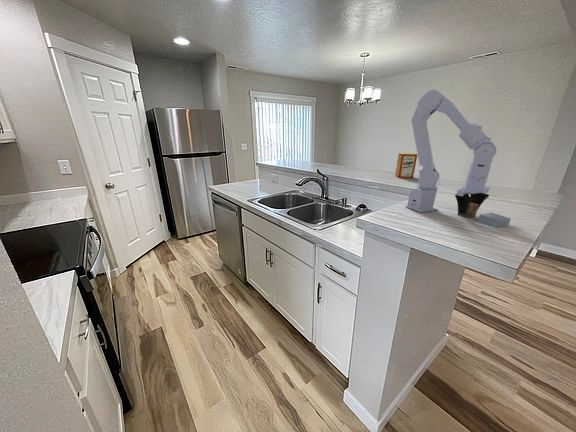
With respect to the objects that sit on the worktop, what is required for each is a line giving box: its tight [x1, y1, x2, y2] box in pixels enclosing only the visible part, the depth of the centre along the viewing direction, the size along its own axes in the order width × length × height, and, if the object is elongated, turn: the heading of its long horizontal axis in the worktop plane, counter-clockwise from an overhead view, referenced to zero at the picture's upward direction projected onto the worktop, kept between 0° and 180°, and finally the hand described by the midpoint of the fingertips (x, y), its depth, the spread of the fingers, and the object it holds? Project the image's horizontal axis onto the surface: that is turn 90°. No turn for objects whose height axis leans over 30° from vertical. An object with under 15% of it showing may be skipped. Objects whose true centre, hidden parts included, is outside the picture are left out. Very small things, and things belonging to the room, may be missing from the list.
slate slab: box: [477, 212, 511, 229], centre depth 82 cm, size 6×6×3 cm
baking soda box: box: [394, 152, 418, 179], centre depth 159 cm, size 10×6×16 cm
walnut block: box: [457, 203, 479, 219], centre depth 89 cm, size 4×4×5 cm
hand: (467, 212), depth 89 cm, fingers open, 6 cm apart
